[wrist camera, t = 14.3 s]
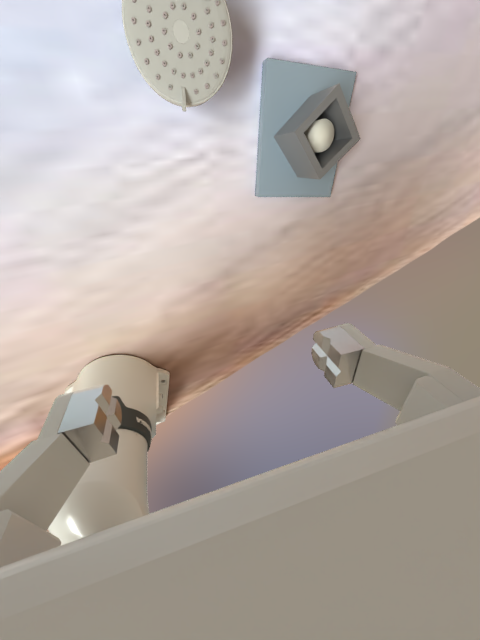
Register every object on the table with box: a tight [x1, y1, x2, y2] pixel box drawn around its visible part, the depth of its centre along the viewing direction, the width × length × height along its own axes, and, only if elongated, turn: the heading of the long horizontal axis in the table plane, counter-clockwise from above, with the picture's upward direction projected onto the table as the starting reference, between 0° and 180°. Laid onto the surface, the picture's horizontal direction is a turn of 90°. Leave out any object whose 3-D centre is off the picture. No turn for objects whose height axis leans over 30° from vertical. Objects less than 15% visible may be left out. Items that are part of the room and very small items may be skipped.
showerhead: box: [122, 0, 232, 111], centre depth 23 cm, size 9×7×10 cm
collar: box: [273, 83, 360, 180], centre depth 30 cm, size 6×6×6 cm
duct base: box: [255, 58, 356, 197], centre depth 31 cm, size 14×12×6 cm
